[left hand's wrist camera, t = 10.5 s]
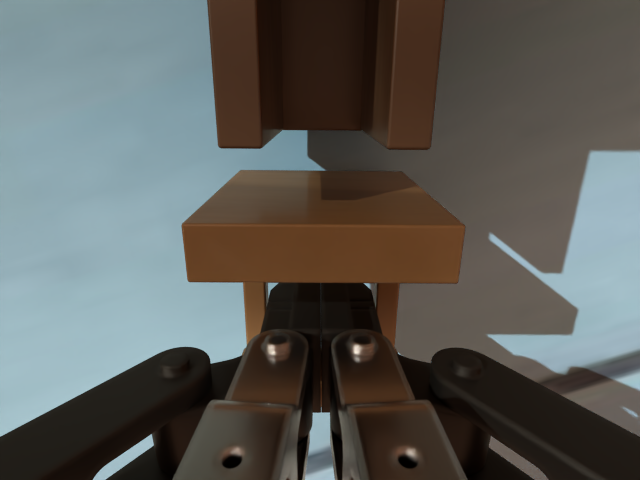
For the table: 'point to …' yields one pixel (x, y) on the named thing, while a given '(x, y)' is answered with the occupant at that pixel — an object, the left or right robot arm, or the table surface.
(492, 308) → the table surface
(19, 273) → the table surface
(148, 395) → the left robot arm
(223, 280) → the wooden drawer
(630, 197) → the table surface
